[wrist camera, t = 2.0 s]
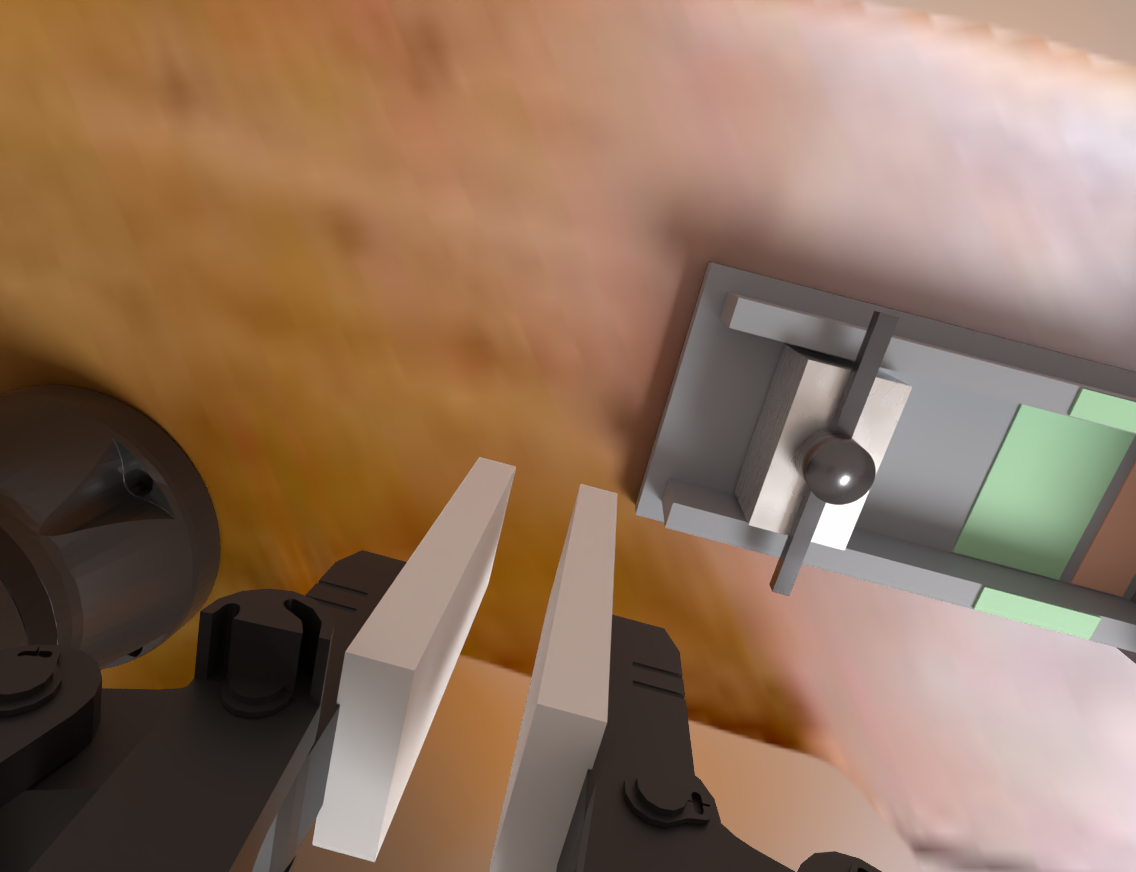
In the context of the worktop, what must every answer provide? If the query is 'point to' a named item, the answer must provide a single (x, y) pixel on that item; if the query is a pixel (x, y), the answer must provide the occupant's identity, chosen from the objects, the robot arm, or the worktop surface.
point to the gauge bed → (923, 458)
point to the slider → (820, 446)
